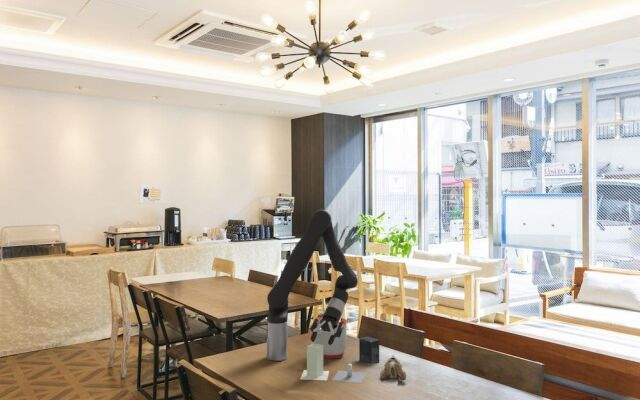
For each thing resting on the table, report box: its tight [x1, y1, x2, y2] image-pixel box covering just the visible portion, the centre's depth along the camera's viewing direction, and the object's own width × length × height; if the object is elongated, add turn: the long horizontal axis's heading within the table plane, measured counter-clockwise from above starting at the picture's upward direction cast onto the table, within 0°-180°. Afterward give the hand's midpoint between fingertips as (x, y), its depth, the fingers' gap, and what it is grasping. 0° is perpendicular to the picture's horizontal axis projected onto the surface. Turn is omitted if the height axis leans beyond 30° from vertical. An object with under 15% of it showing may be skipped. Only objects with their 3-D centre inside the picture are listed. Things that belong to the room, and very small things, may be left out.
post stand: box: [332, 363, 367, 384], centre depth 204 cm, size 12×12×6 cm
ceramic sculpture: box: [380, 355, 407, 381], centre depth 206 cm, size 11×9×15 cm
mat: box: [300, 369, 330, 382], centre depth 205 cm, size 11×11×1 cm
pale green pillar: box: [306, 342, 324, 378], centre depth 206 cm, size 5×5×12 cm
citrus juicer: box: [314, 316, 348, 360], centre depth 235 cm, size 16×17×20 cm
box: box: [358, 336, 380, 364], centre depth 226 cm, size 8×6×11 cm
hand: (320, 342), depth 210 cm, fingers open, 8 cm apart
